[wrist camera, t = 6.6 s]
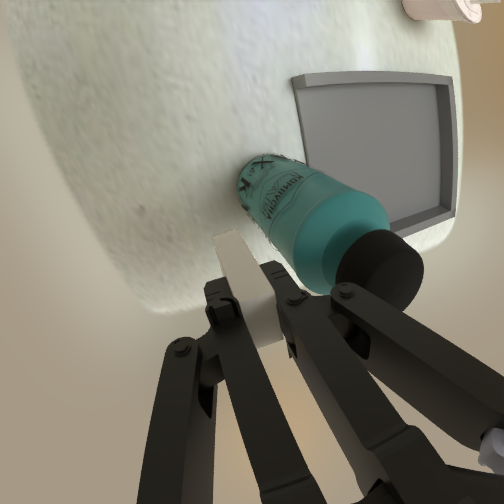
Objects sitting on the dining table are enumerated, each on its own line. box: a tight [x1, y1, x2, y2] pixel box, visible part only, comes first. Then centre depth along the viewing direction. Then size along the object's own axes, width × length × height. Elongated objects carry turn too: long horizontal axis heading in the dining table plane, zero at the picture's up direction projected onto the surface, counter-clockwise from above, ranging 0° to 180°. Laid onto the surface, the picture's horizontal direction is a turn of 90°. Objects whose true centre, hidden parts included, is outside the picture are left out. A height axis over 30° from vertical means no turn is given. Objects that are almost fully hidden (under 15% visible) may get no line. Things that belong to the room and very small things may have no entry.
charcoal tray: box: [291, 71, 458, 238], centre depth 30 cm, size 20×22×3 cm
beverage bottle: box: [237, 153, 424, 311], centre depth 20 cm, size 6×7×20 cm
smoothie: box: [402, 0, 500, 24], centre depth 16 cm, size 6×6×14 cm
